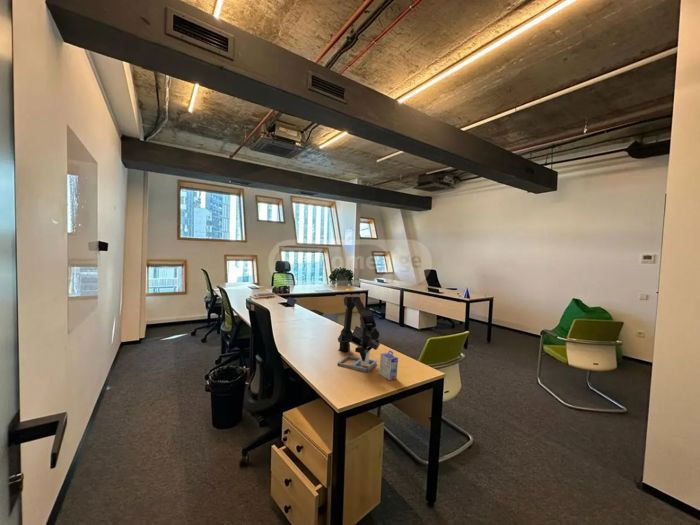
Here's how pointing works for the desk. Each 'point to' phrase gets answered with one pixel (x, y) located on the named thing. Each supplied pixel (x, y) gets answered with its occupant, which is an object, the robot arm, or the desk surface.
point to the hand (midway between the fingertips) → (364, 359)
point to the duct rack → (355, 365)
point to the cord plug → (365, 359)
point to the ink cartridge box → (388, 365)
